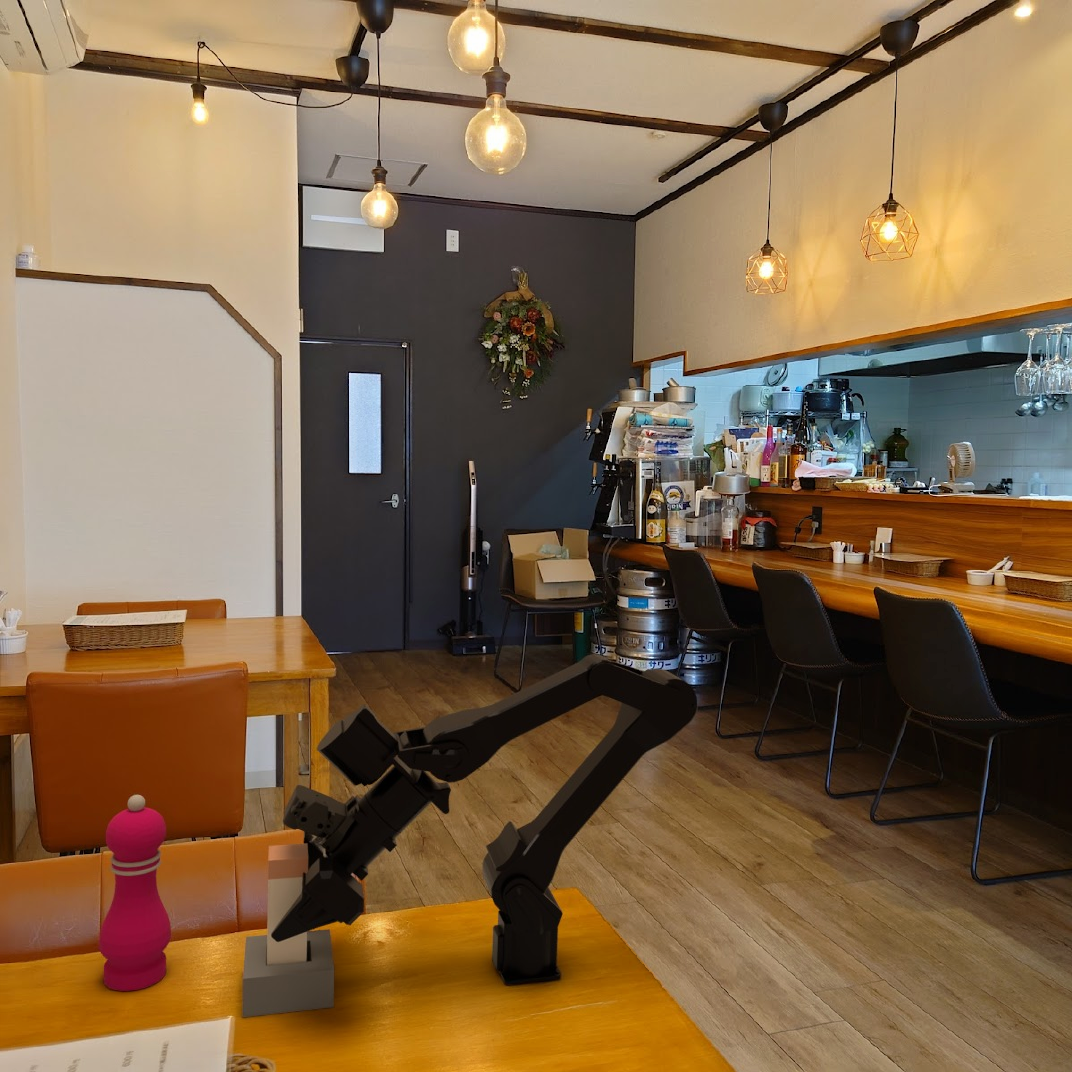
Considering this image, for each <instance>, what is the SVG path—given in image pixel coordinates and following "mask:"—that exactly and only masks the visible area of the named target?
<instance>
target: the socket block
mask: <svg viewBox="0 0 1072 1072" xmlns="http://www.w3.org/2000/svg"><path fill="white" fill-rule="evenodd" d="M331 936H332V935H331V929H329V928H328V929H327V928H326V929H319V930H310V931H307V958H306V962H298V963H288V964H278V965H268V966H267V934H263V935H262V934H261V935H250V936H246V937H245V947H244V958H243V959H244V960H243V972H242V973H243V974H242V1008H241V1009H242V1010H241V1011H242V1015H241V1017H242V1018H248V1017H249V1018H250V1017H257V1016H267V1015H268V1016H269V1015H274V1014H275V1015H276V1014H283V1013H284V1014H286V1013H293V1012H300V1011H301V1012H302V1011H303V1012H305V1011H311V1010H319V1009H330V1008H334V1005H335V1004H334V1000H335V999H334V998H335V997H334V996H335V993H334V992H335V989H334V988H335V965H334V956H333V946H332V945H333V944H332V939H331V938H332V937H331Z"/></svg>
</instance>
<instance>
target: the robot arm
mask: <svg viewBox="0 0 1072 1072" xmlns="http://www.w3.org/2000/svg"><path fill="white" fill-rule="evenodd" d="M601 696H604V697H607V698H609V699H612V700H615V701H617V702H619V703H621V704H620V706H619V709H618V713H617V717H616V720H615V722H614V724H613V726H612V727H611V728H610V730H608V733H607V734H606V735H605V736H604V737H603V738H602V739H601V740H600V742H599V743H598V744H597V745H596V746H595V748H594V749H592V751H591V752H590V753H589V754H588V756H587V757H586V758H585V759H584V761H582V763H580V765H579V766H578V767H577V769H575V771H574V772H573V773H572V775H571V776H570V777H569V778H567V780H566V781H565V783H564V784H563V785H562V786H561V787H560V789H559V790H558V791H557V792H556V793H555V795H554V796H553V797H552V798H551V799H550V800H549V802H548V803H547V804H546V805H545V806H544V807H543V809H542V810H541V811H540V812H539V813H538V815H537V816H536V817H535V818H534V819H533V820H532V821H531V822H528V823H526V824H525V825H523V826H520V827H518V828H517V827H516V826H515V825H514V822H512V821H511V820H510V821H509V820H508V821H507V823H506V824H505V825H504V826H503V829H502V830H501V831H500V833H499V835H497V837H496V838H495V839H494V840H493V841H492V842H490V843H489V844H487V845H485V848H486V850H487V853H486V855H485V857H484V858H483V861H482V868H481V869H482V876H483V879H484V881H485V884H486V886H487V889H488V891H489V894H490V896H491V898H492V900H493V904H494V905H495V907H496V908H497V909H498V913H497V924H494V926H493V927H492V945H491V946H492V948H491V949H492V950H491V951H492V952H491V953H492V954H491V956H492V957H491V961H492V962H493V965H494V967H495V968H494V969H495V970H496V971H497V972H498V973H499V975H500V976H501V979H502V982H503V983H504V984H505V985H517V984H526V983H536V982H544V981H554V980H555V981H556V980H559V979H561V978H562V972H561V970H560V968H559V967H558V963H557V962H558V942H559V941H558V940H559V937H558V936H559V925H560V922H561V919H562V918H563V913H564V912H563V911H562V909H561V906H560V905H559V903H558V902H557V900H556V897H555V896H554V894H553V893H552V890H551V889H550V887H549V886H550V885H551V883H552V882H553V880H554V878H555V874H556V872H557V868H558V866H559V863H560V860H561V856H562V855H563V852H564V850H565V849H566V848H567V847H568V845H569V844H570V843H571V842H572V840H573V839H574V838H575V837H576V836H577V834H578V833H579V832H580V831H581V830H582V829H583V827H584V826H585V825H586V824H587V823H588V822H589V820H590V819H591V818H592V817H593V816H594V815H595V813H596V812H597V811H598V809H600V808H601V806H602V805H604V803H605V801H606V800H607V799H608V798H609V797H610V796H611V794H612V793H613V792H614V791H615V790H616V788H617V787H618V786H619V784H621V783H622V781H623V780H624V779H625V778H626V776H627V775H628V774H629V773H630V772H631V770H633V768H634V767H635V766H636V764H637V763H638V762H639V761H640V760H641V759H642V757H643V756H644V755H646V754H647V752H649V751H651V750H654V749H655V748H657V747H660V746H661V745H663V744H665V743H667V742H669V741H671V740H672V739H673V738H675V736H676V735H678V734H679V733H680V732H681V731H682V730H683V729H685V728H686V727H687V726H688V725H689V724H691V722H692V721H693V719H694V718H695V717H696V715H697V713H698V709H699V707H698V696H697V694H696V690H695V689H694V688H693V687H692V685H691V684H690V683H688V682H687V681H685V680H683V679H682V678H680V677H678V676H676V675H675V674H673V673H672V672H669V671H668V670H666V669H663V668H659V667H658V668H648V669H645V670H641V669H639V668H636V667H633V666H630V665H627V664H624V663H620V662H616V661H613V660H610V659H608V658H606V657H605V656H602V655H601V654H597V653H592V654H588V655H586V656H584V657H583V658H582V659H580V661H577V662H576V663H574V664H571V665H570V666H568V667H567V668H564V669H562V670H560V671H558V672H556V673H553V674H551V675H549V676H547V677H545V678H543V679H541V680H540V681H538V682H535V683H533V684H532V685H529V686H527V687H525V688H523V689H521V690H519V691H516V692H515V693H512V694H511V695H509V696H507V697H505V698H503V699H501V700H499V701H496V702H495V703H492V704H490V705H486V706H482V707H478V708H477V707H476V708H470V709H463V710H459V711H456V712H453V713H449V714H446V715H443V716H439V717H436V718H435V719H433V720H431V721H429V722H428V723H427V724H426V725H425V726H424V727H418V728H417V727H416V728H410V729H403V730H399V731H394V732H392V731H391V730H390V729H389V728H388V727H387V726H386V725H385V724H384V723H383V722H382V721H381V720H380V719H378V717H377V716H376V714H375V712H374V711H373V710H372V709H371V708H370V707H369V706H368V705H367V704H366V703H365V704H362V705H361V706H360V707H359V708H358V709H357V710H355V711H352V712H350V713H349V714H347V715H346V716H345V717H343V719H339V720H338V721H337V722H335V723H334V725H333V726H332V727H331V728H330V729H329V730H328V731H327V732H326V734H324V736H323V737H322V738H321V740H320V742H318V745H317V747H316V751H318V753H319V754H320V755H321V756H323V758H325V759H326V760H327V761H328V762H329V764H331V765H332V766H333V767H335V769H336V770H338V772H340V773H341V774H342V775H343V776H344V777H345V778H346V779H347V781H349V782H350V783H351V784H352V785H353V786H359V785H362V786H363V787H366V786H371V785H373V784H374V783H375V784H374V785H373V786H371V788H370V789H369V790H368V791H367V792H365V794H363V795H362V797H360V796H358V795H357V794H356V795H355V796H351V797H350V798H348V800H347V801H345V802H344V803H343V802H341V801H339V800H337V799H335V798H333V797H332V796H330V795H327V794H324V793H321V792H320V791H317V790H315V789H312V788H310V787H308V786H305V785H302V784H298V785H296V786H295V788H294V790H293V793H292V794H291V796H290V798H289V800H288V802H287V804H286V806H285V809H284V811H283V818H282V824H283V825H285V826H286V827H288V828H290V829H291V830H299V831H301V832H303V842H302V844H306V843H307V845H308V872H307V873H305V872H303V874H302V893H301V894H300V896H299V897H298V898H297V900H296V901H295V902H294V904H293V905H292V906H291V907H290V909H289V910H288V911H287V913H286V914H285V915H284V917H283V918H282V919H281V921H280V922H279V923H278V925H277V926H276V928H275V929H274V930H273V932H272V933H271V937H272V938H273V939H274V940H275V941H276V942H280V941H283V940H286V939H288V938H291V937H294V936H296V935H299V934H302V933H304V932H307V931H314V930H315V929H318V928H321V927H325V926H327V925H331V924H334V923H340V924H342V923H343V924H345V925H346V926H351V925H352V924H353V923H354V922H356V921H357V919H358V918H359V917H360V916H361V915H362V914H363V913H365V897H364V887H363V884H362V883H361V882H362V881H363V880H364V879H365V878H366V877H367V876H369V868H368V867H369V866H370V865H371V864H372V863H373V862H374V861H375V860H376V859H377V858H378V857H379V856H380V854H382V853H383V852H384V851H385V850H386V851H388V852H389V853H391V852H393V850H394V849H395V848H396V847H397V845H398V844H397V840H396V839H397V837H399V836H400V835H401V834H402V833H403V832H404V831H405V830H406V829H407V827H409V826H410V825H411V824H412V823H413V822H414V821H415V819H417V818H418V816H420V815H421V814H422V812H423V811H424V810H425V809H427V808H428V807H429V806H430V805H431V804H433V805H434V807H436V808H437V809H438V810H439V811H440V812H441V813H442V814H444V815H447V814H449V813H450V796H451V795H450V794H451V792H452V788H451V786H450V784H449V783H457V782H459V781H462V780H464V779H466V778H468V777H469V776H470V775H472V774H473V773H474V772H476V771H477V770H478V769H480V768H482V767H483V766H484V765H485V764H487V763H488V762H489V761H490V760H491V759H492V758H493V757H494V756H495V755H496V754H497V752H499V751H500V749H501V748H503V747H504V746H505V745H507V744H508V743H509V742H511V741H513V740H515V739H517V738H519V737H520V736H522V735H525V734H527V733H529V732H530V731H532V730H534V729H537V728H539V727H540V726H542V725H544V724H546V723H549V722H551V721H553V720H554V719H556V718H558V717H561V716H562V715H564V714H567V713H568V712H570V711H572V710H575V709H577V708H579V707H580V706H583V705H584V704H587V703H589V702H590V701H593V700H594V699H596V698H598V697H601ZM392 765H393V766H392ZM429 773H430V774H429ZM430 775H432V776H433V777H434V778H435V779H437V780H440V781H443V782H438V781H436V780H435V779H434V778H433V777H432V776H430ZM354 876H356V877H354ZM357 878H358V880H357ZM360 881H361V882H360Z"/></svg>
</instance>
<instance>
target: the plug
mask: <svg viewBox="0 0 1072 1072" xmlns="http://www.w3.org/2000/svg"><path fill="white" fill-rule="evenodd" d="M267 863H268V864H267V865H268V867H267V868H268V869H267V874H268V875H267V876H268V877H267V924H266V925H267V926H266V927H267V929H266V935H267V966H268V965H278V964H288V963H298V962H306V958H307V932H304V933H302V934H299V935H296V936H294V937H291V938H288V939H286V940H283V941H280V942H276V941H275V940H274V939H273V938H272V937H271V933H272V932H273V930H274V929H275V928H276V926H277V925H278V923H279V922H280V921H281V919H282V918H283V917H284V915H285V914H286V913H287V911H288V910H289V909H290V907H291V906H292V905H293V904H294V902H295V901H296V900H297V898H298V897H299V896H300V894H301V893H302V874H303V872H305V873H307V872H308V845H307V843H306V844H303V843H294V844H280V845H268V862H267Z"/></svg>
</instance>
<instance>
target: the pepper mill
mask: <svg viewBox="0 0 1072 1072" xmlns="http://www.w3.org/2000/svg"><path fill="white" fill-rule="evenodd" d="M166 835H167V826H166V822H165V819H164V817H163V816H162V815H161V813H159V812H158V811H157V810H155V809H153V808H149V807H146V799H145V798H144V796H142V795H140V794H133V795H132V796H130V797H129V798H128V800H127V809H124V810H122V811H120V812H118V814H116V815H114V816H113V818H112V819H111V820H110V821H109V823H108V825H107V827H106V831H105V844H106V846H107V847H106V848H108V850H109V851H110V852H111V853H112V856H111V857H110V862H111V865H110V871H111V873H113V874H114V880H115V881H114V882H115V883H114V893H113V898H112V901H111V904H110V907H109V909H108V912H107V913H106V916H105V917H104V920H103V922H102V925H101V927H100V928H101V929H100V931H99V936H98V937H99V939H98V949H99V952H100V954H101V956H103V958H105V959H106V961H105V962H104V964H103V983H104V985H105V986H106V988H107V987H108V988H109V989H110V990H115V991H119V992H131V991H138V990H142V989H146V988H149V987H151V986H154V985H155V984H156V983H158V982H160V981H161V980H162V979H163V978H164V976H165V974H166V972H167V955H166V953H165V952H164V950H165V949H166V948H167V946H168V945H169V944H170V941H171V939H172V927H171V921H170V917H169V914H168V912H167V910H166V908H165V906H164V903H163V902H162V899H161V896H160V893H159V890H158V884H157V883H158V882H157V869H158V868H159V867H160V866H161V864H162V860H161V856H162V852H161V850H160V849H159V848H160V847H161V846H162V844H163V843H164V841H165V840H166Z"/></svg>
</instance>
